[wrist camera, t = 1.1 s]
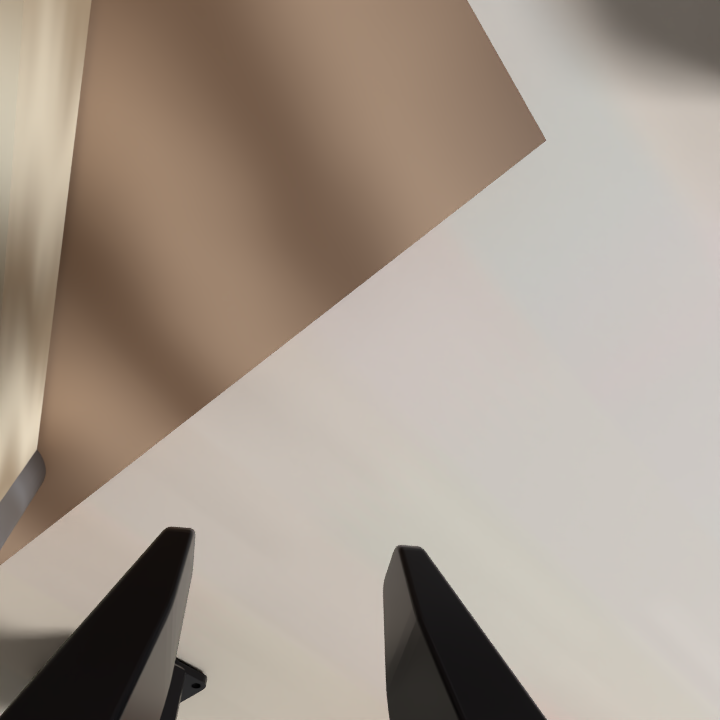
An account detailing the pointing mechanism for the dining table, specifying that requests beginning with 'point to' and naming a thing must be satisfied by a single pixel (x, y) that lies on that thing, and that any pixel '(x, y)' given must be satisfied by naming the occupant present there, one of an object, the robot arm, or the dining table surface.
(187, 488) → the dining table surface
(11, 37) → the hinged leg
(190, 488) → the dining table surface
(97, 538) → the dining table surface
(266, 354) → the stool seat
